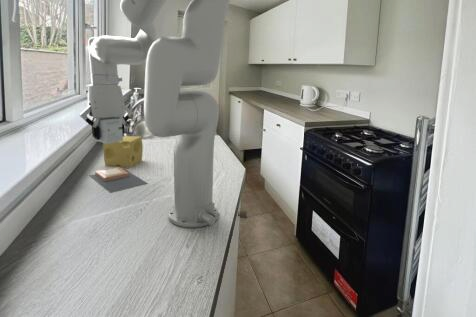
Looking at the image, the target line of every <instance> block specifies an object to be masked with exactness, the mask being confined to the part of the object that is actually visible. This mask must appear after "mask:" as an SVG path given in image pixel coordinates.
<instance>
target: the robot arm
mask: <svg viewBox="0 0 476 317" xmlns="http://www.w3.org/2000/svg"><path fill="white" fill-rule="evenodd" d="M166 2H167V0H120V4H119V8H120V10H121V13H122V14H123V16H124V17H125V19H126V20H127V21H128V22H130V23H131V24H132V25H133V26H135V27H137V28H138V29H139V31H138V33H137V35H136V36H135V37H134V38H133V37H126V36H115V35H100V36H92V37H90V38H88V41H87V44H88V55H89V56H88V57H89V68H90V79H91V80H90V81H91V84H89V85H88V88H87V89H88V90H87V107H86V108H85V109H84V110H82V111H81V112H80V114H79V117H80V118H82V120H84V121H85V122H86V124H88V125H90V126H91V133H92V134H91V136H92V137H93V138H94V139H95V140H96V139H97V140H99V139H100V134H99V127H97V125H98V122H99V120H100V119H102V118H120V119H122V132H123V137H124V136H125V133H126V132H125V129H126V128H125V125H126V123H127V121H128V120H129V119H130V117H131V116H132V115H133V113H134V112H133V110H132V109H130V108H129V107H128V106H126V105H125V99H124V95H123V91H122V87H121V85H119V84H120V82H123V78H122V76H119V73H118V65H127V66H128V65H129V66H137V65H139V66H140V65H141V64H143V63H144V62H145V68H144V70H145V71H144V72H145V73H144V74H145V75H144V89H143V90H144V94H143V119H144V122H145V126H146V128H147V129H148V131H149V133H151V134H152V135H153V136H155V137H158V138H171V137H176V136H177V137H176V140H175V144H174V149H173V182H174V183H173V185H174V186H173V188H174V191H173V193H174V199H173V200H174V206H172V207H171V208H170V209H169V210H168V214H167V215H168V220H169V221H170V222H171V223H172V224H174V225H176V226H179V227H182V228H192V229H193V228H201V227H206V226H209V225H210V226H212V225H215V222H216V221H217V220H218V219H219V218H220V213H219V211H218V208H216V206H215V203H214V202H213V190H214V186H213V184H214V157H215V156H214V153H215V152H214V149H215V137H216V131H217V127H218V122H219V116H220V111H219V110H220V108H219V104H218V102H217V100H216V99H215V97H214V96H213V95H212V94H210V93H208V92H207V91H205V90H192V89H191V90H181V87H194V86H195V87H199V86H207V85H209V84H212V83H213V82H214V81H215V80H216V78H217V76H218V72H219V67H220V61H221V53H222V46H223V39H224V31H225V23H226V18H227V13H228V10H229V6H230V2H231V0H191V1H190V2H189V4H188V6H187V7H186V9H185V12H184V15H183V20H182V21H183V22H182V32H181V35H180V36H179V37H178V36H172V35H171V36H170V35H168V36H165V35H164V36H161V37H158V38H157V37H156V29H155V28H156V27H155V25H154V21H155V19H156V18H157V16H158V14H159V13H160V11H161V10H162V8H163V6H164V4H166ZM156 38H157V39H156ZM88 115H89V116H90V117H91V119H90V117H89V116H88Z"/></svg>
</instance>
